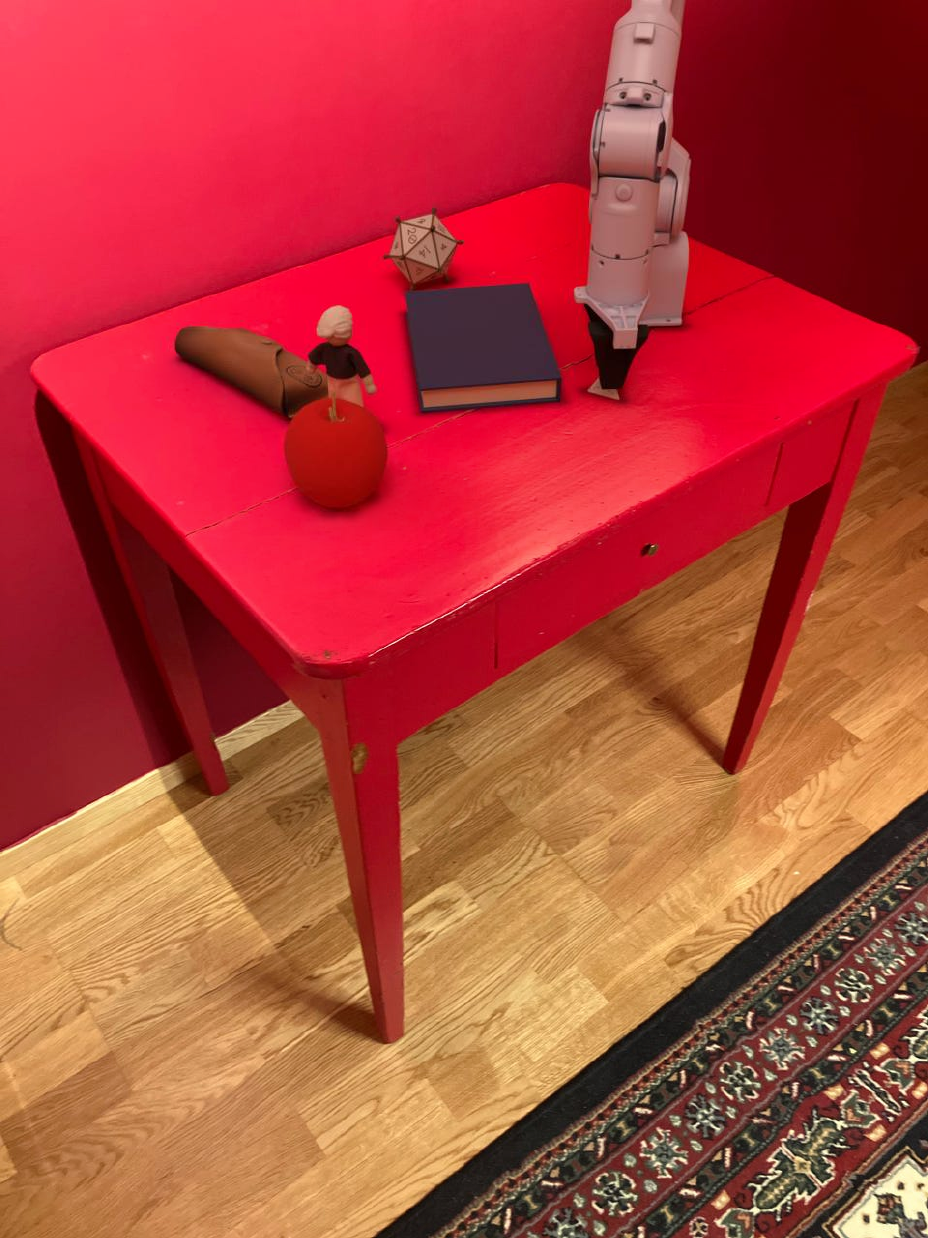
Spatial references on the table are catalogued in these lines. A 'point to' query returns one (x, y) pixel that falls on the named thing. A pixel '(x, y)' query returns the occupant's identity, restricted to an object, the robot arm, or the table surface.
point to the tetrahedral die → (598, 390)
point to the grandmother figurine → (340, 357)
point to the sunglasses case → (253, 366)
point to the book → (480, 348)
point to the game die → (423, 249)
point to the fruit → (335, 452)
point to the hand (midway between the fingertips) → (609, 376)
